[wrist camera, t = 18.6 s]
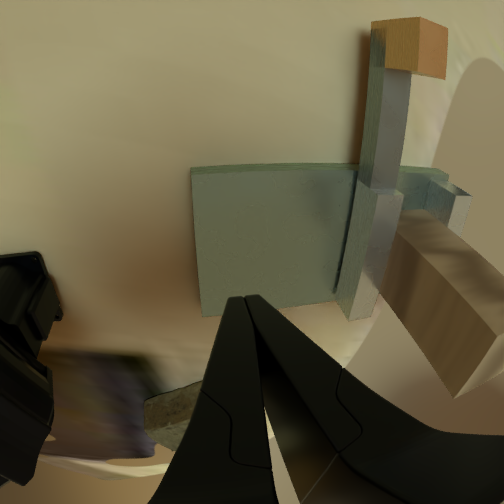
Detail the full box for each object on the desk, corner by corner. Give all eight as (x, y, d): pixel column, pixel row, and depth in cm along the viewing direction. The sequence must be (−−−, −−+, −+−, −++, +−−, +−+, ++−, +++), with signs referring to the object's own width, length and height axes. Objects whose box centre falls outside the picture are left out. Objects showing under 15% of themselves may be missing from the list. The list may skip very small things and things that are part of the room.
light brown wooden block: (334, 298, 25) (359, 340, 21) (371, 21, 14) (420, 16, 10) (356, 295, 26) (382, 334, 22) (397, 29, 15) (448, 28, 11)
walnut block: (361, 268, 25) (453, 398, 14) (373, 210, 22) (497, 336, 11) (409, 262, 25) (502, 371, 15) (424, 209, 23) (541, 313, 12)
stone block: (253, 390, 33) (262, 428, 29) (167, 419, 34) (170, 455, 30) (229, 365, 30) (238, 407, 26) (137, 398, 31) (137, 437, 27)
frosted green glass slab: (200, 304, 25) (206, 346, 21) (190, 167, 19) (192, 193, 16) (408, 277, 29) (433, 306, 25) (437, 168, 23) (474, 190, 19)
